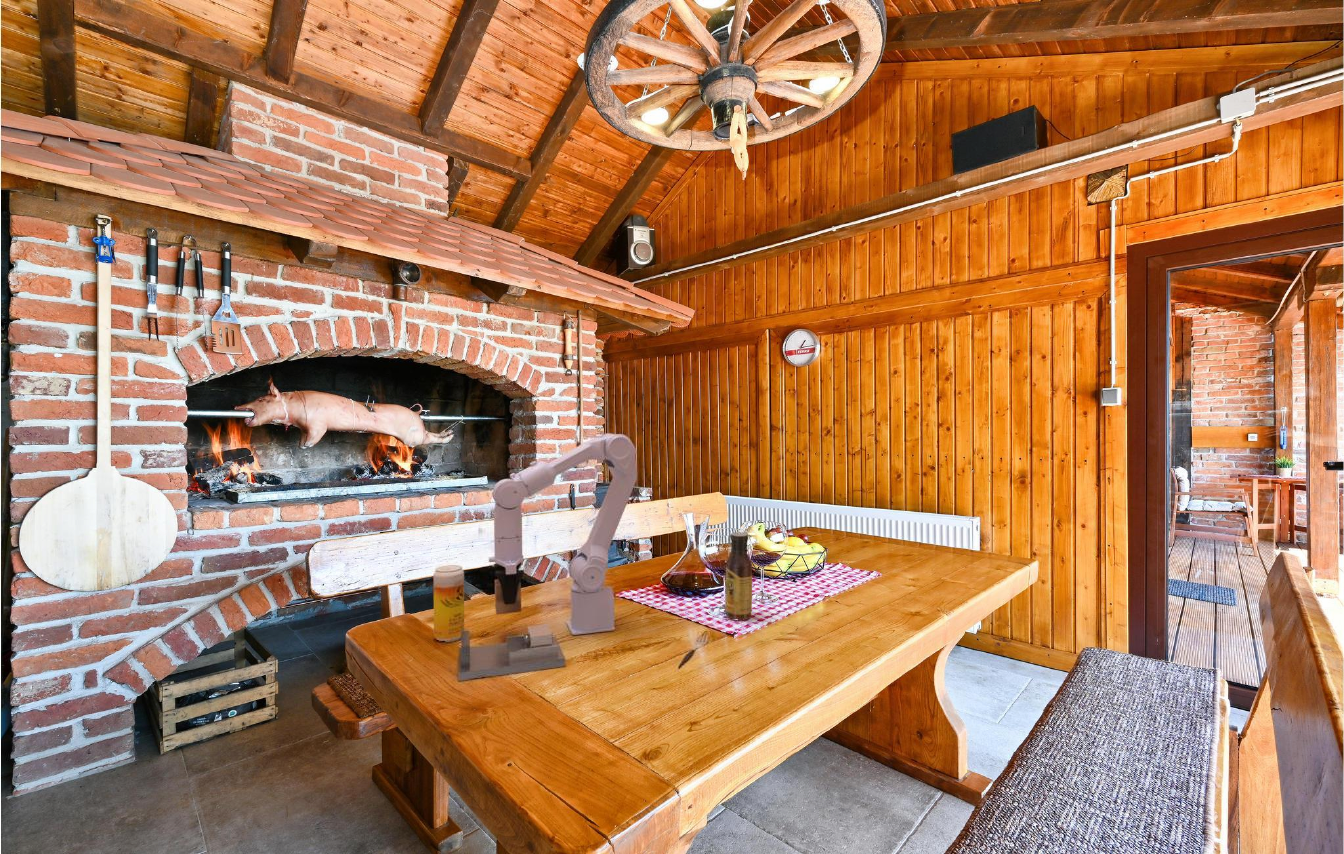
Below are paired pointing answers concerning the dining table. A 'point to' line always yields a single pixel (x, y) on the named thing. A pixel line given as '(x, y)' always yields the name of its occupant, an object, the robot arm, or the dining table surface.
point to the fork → (693, 649)
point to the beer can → (448, 603)
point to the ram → (538, 636)
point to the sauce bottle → (738, 579)
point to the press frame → (505, 658)
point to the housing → (499, 600)
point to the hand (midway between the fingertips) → (508, 599)
